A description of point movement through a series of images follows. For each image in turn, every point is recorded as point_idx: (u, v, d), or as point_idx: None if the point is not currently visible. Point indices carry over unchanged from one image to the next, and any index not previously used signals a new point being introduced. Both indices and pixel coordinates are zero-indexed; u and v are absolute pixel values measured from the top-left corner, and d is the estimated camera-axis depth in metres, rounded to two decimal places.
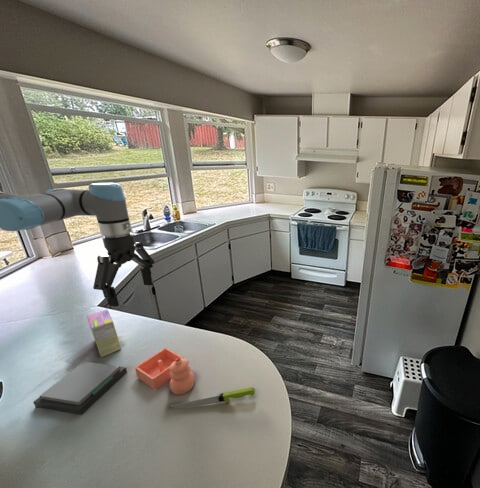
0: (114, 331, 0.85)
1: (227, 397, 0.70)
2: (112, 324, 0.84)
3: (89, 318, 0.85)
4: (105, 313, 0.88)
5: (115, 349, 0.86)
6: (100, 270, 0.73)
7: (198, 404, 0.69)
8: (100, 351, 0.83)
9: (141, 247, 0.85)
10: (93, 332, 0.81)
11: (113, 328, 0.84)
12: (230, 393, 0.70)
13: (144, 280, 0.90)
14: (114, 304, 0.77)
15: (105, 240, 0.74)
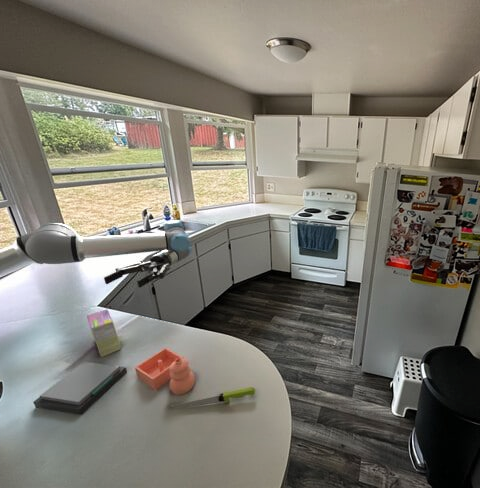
0: (114, 331, 0.85)
1: (227, 397, 0.70)
2: (112, 324, 0.84)
3: (89, 318, 0.85)
4: (105, 313, 0.88)
5: (115, 349, 0.86)
6: (165, 270, 1.03)
7: (198, 404, 0.69)
8: (100, 351, 0.83)
9: None
10: (93, 332, 0.81)
11: (113, 328, 0.84)
12: (230, 393, 0.70)
13: (110, 276, 0.95)
14: (141, 285, 0.93)
15: (169, 260, 1.11)
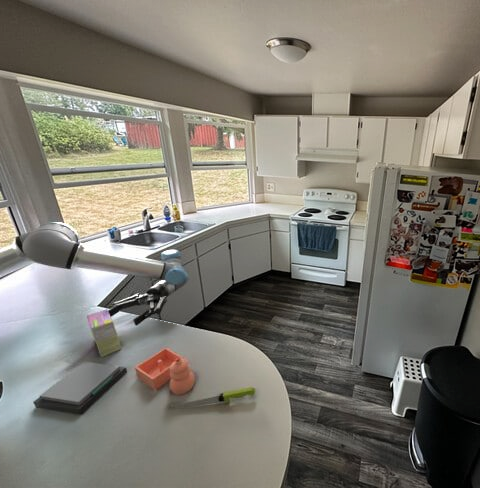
0: (114, 331, 0.85)
1: (227, 397, 0.70)
2: (112, 324, 0.84)
3: (89, 318, 0.85)
4: (105, 313, 0.88)
5: (115, 349, 0.86)
6: (162, 304, 1.03)
7: (198, 404, 0.69)
8: (100, 351, 0.83)
9: None
10: (93, 332, 0.81)
11: (113, 328, 0.84)
12: (230, 393, 0.70)
13: None
14: (138, 322, 0.92)
15: (166, 292, 1.11)
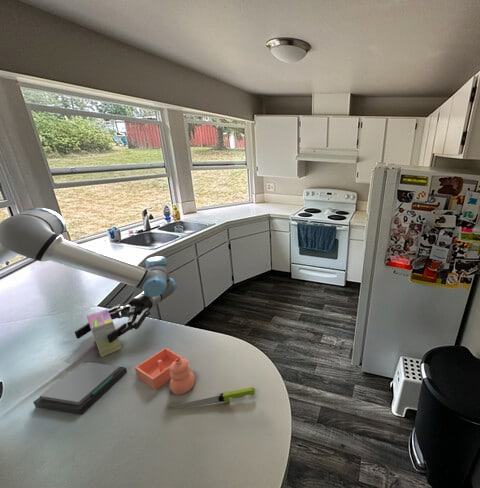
0: None
1: (227, 397, 0.70)
2: (112, 324, 0.84)
3: (89, 318, 0.85)
4: (105, 313, 0.88)
5: (115, 349, 0.86)
6: (143, 317, 0.94)
7: (198, 404, 0.69)
8: (101, 351, 0.83)
9: None
10: (93, 332, 0.81)
11: (113, 328, 0.84)
12: (230, 393, 0.70)
13: (82, 329, 0.85)
14: (112, 339, 0.83)
15: (151, 302, 1.02)
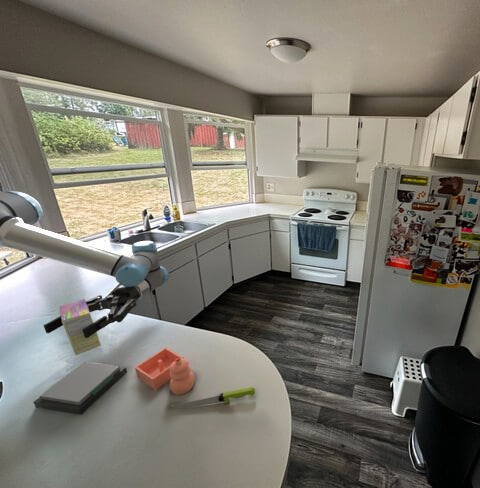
0: None
1: (227, 397, 0.70)
2: (89, 316, 0.71)
3: (62, 309, 0.72)
4: (82, 303, 0.75)
5: (93, 346, 0.73)
6: (128, 308, 0.81)
7: (198, 404, 0.69)
8: (75, 348, 0.70)
9: None
10: (65, 325, 0.67)
11: (90, 321, 0.71)
12: (230, 393, 0.70)
13: (53, 323, 0.72)
14: (89, 334, 0.70)
15: (137, 292, 0.89)
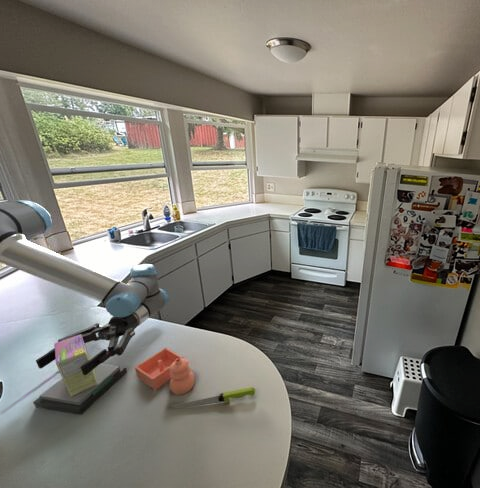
0: None
1: (227, 397, 0.70)
2: (85, 355, 0.67)
3: (57, 347, 0.68)
4: (78, 339, 0.71)
5: (89, 385, 0.69)
6: (127, 339, 0.77)
7: (198, 404, 0.69)
8: (70, 390, 0.66)
9: None
10: (59, 367, 0.64)
11: (86, 360, 0.67)
12: (230, 393, 0.70)
13: (46, 357, 0.69)
14: (87, 371, 0.67)
15: (136, 320, 0.85)
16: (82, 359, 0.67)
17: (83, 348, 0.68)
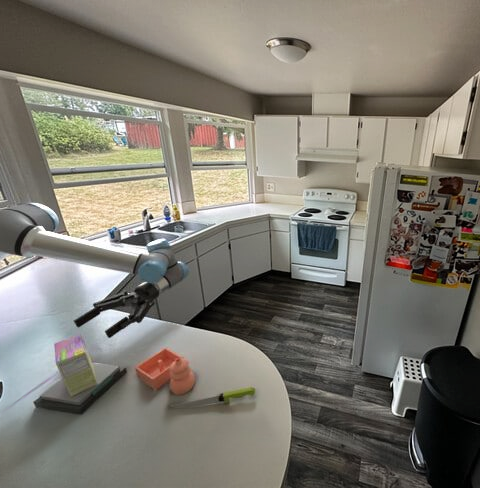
0: (87, 364, 0.68)
1: (227, 397, 0.70)
2: (85, 355, 0.67)
3: (57, 347, 0.68)
4: (78, 339, 0.71)
5: (89, 385, 0.69)
6: (147, 308, 0.86)
7: (198, 404, 0.69)
8: (70, 390, 0.66)
9: None
10: (59, 367, 0.64)
11: (86, 360, 0.67)
12: (230, 393, 0.70)
13: (82, 318, 0.80)
14: (111, 335, 0.76)
15: (156, 291, 0.93)
16: (82, 359, 0.67)
17: (83, 348, 0.68)
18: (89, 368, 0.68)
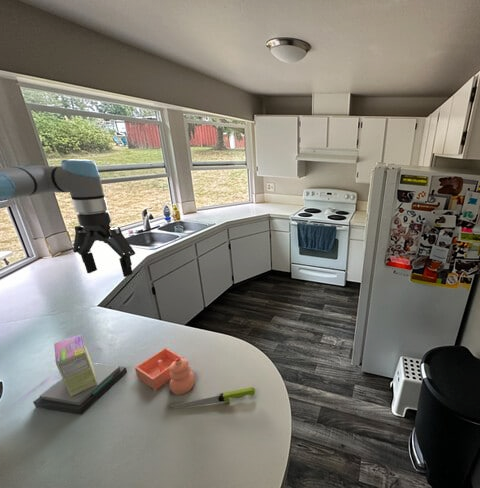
0: (87, 364, 0.68)
1: (227, 397, 0.70)
2: (85, 355, 0.67)
3: (57, 347, 0.68)
4: (78, 339, 0.71)
5: (89, 385, 0.69)
6: (122, 240, 0.80)
7: (198, 404, 0.69)
8: (70, 390, 0.66)
9: None
10: (59, 367, 0.64)
11: (86, 360, 0.67)
12: (230, 393, 0.70)
13: (89, 267, 0.84)
14: (130, 272, 0.84)
15: (102, 215, 0.77)
16: (82, 359, 0.67)
17: (83, 348, 0.68)
18: (89, 368, 0.68)
